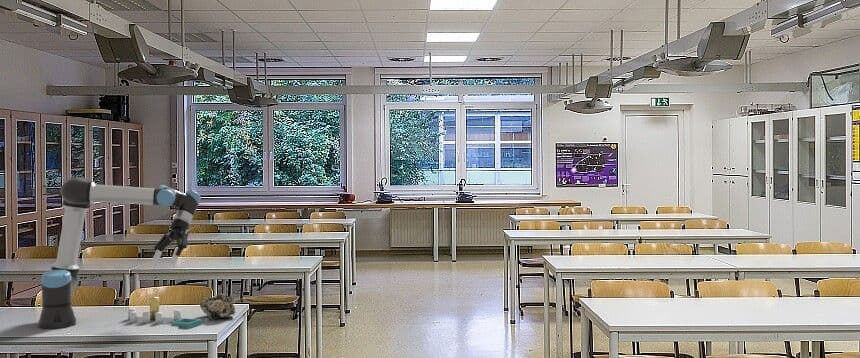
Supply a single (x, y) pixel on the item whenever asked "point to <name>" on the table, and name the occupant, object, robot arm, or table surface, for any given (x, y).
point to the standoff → (154, 307)
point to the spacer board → (140, 321)
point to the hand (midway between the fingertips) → (163, 263)
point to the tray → (187, 325)
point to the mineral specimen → (218, 306)
